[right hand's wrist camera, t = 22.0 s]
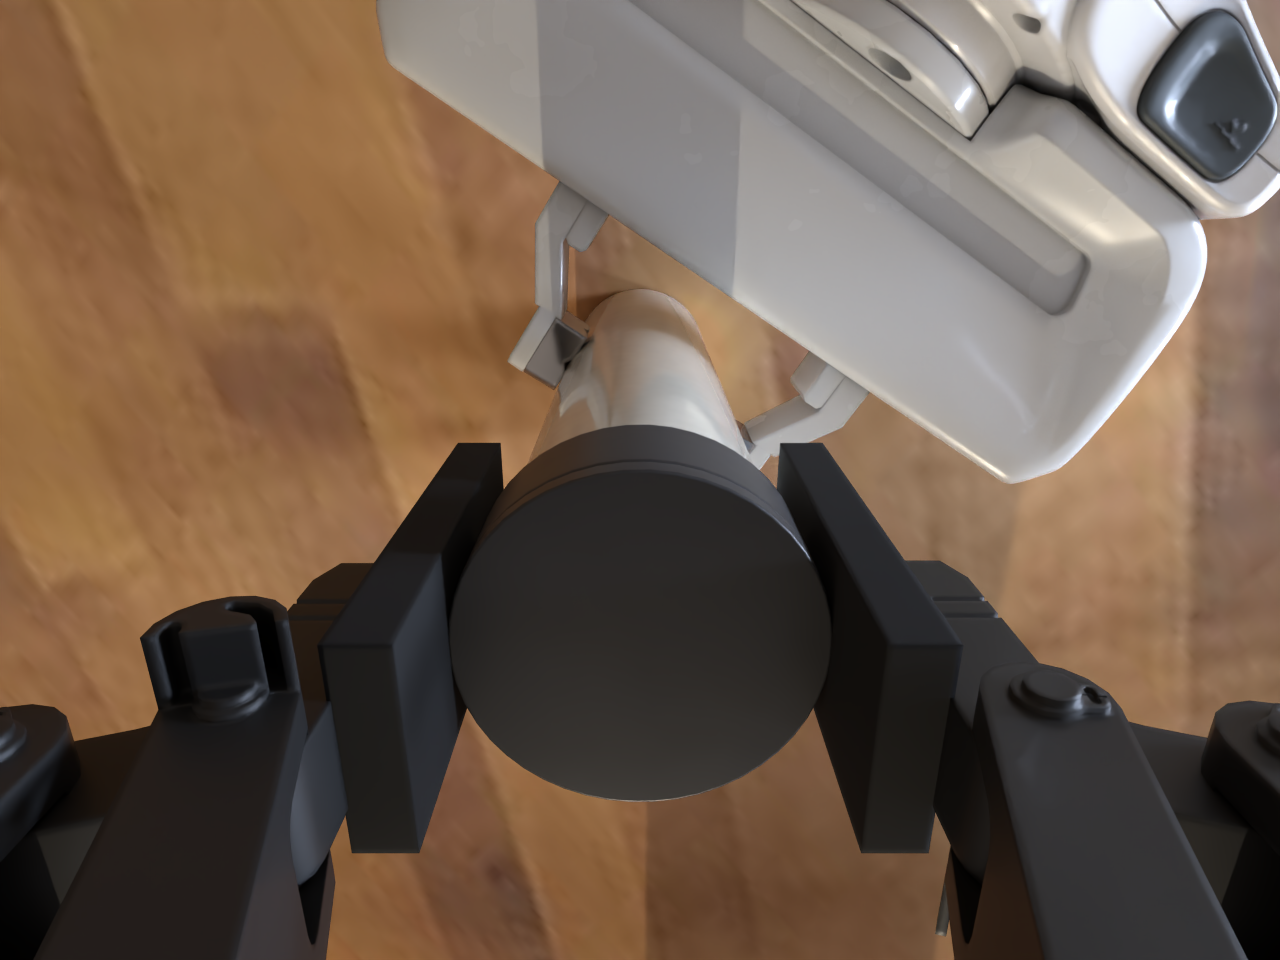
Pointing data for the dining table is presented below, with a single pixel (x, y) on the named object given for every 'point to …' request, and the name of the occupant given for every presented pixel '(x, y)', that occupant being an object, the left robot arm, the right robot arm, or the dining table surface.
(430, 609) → the right robot arm
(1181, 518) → the dining table surface
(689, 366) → the slim white bottle
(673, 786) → the lid
